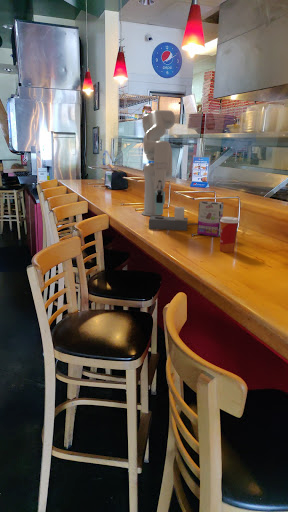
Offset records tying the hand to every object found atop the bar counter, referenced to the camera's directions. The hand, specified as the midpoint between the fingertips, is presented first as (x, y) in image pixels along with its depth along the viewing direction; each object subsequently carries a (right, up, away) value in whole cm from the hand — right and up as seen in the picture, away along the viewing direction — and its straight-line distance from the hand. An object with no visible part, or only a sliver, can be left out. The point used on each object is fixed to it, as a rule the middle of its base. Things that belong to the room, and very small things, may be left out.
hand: (159, 201), depth 194 cm
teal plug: (0, -6, +2) cm, 7 cm away
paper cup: (+26, -27, -39) cm, 54 cm away
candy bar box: (+24, -18, -11) cm, 32 cm away
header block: (+5, -14, +3) cm, 15 cm away
